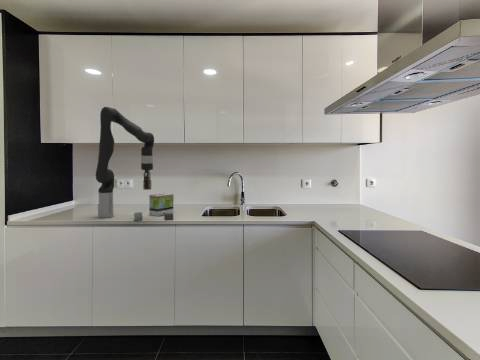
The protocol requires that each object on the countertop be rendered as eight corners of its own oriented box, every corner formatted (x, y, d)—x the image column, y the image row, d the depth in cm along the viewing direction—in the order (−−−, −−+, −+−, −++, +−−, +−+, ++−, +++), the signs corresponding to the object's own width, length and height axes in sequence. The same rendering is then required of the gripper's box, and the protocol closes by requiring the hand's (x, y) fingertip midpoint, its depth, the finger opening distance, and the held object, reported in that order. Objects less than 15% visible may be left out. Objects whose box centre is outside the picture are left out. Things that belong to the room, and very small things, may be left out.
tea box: (158, 216, 213) (158, 195, 211) (149, 215, 218) (148, 194, 217) (173, 213, 225) (173, 193, 224) (164, 211, 231) (164, 192, 229)
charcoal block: (165, 220, 200) (165, 214, 200) (164, 219, 205) (164, 213, 204) (173, 220, 202) (173, 214, 202) (171, 218, 207) (171, 212, 206)
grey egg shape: (133, 221, 197) (133, 213, 197) (135, 219, 202) (134, 212, 202) (141, 221, 198) (141, 213, 197) (142, 219, 203) (142, 212, 202)
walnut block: (143, 189, 199) (143, 180, 198) (144, 188, 203) (144, 180, 203) (150, 189, 199) (150, 180, 199) (151, 188, 204) (151, 180, 203)
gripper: (143, 162, 206) (143, 187, 208) (139, 162, 192) (139, 189, 194) (154, 162, 207) (154, 187, 209) (151, 162, 193) (151, 189, 195)
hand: (147, 188), depth 201 cm, fingers closed on walnut block, 4 cm apart
